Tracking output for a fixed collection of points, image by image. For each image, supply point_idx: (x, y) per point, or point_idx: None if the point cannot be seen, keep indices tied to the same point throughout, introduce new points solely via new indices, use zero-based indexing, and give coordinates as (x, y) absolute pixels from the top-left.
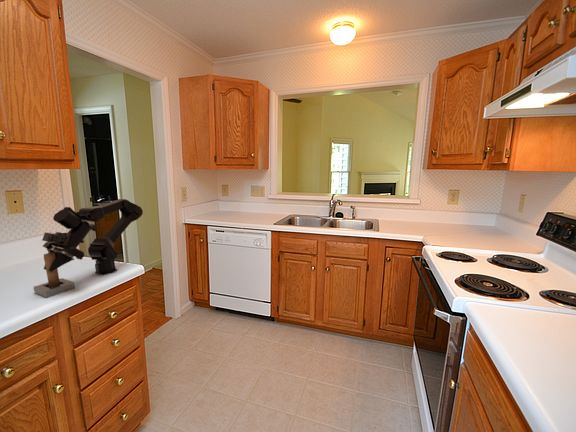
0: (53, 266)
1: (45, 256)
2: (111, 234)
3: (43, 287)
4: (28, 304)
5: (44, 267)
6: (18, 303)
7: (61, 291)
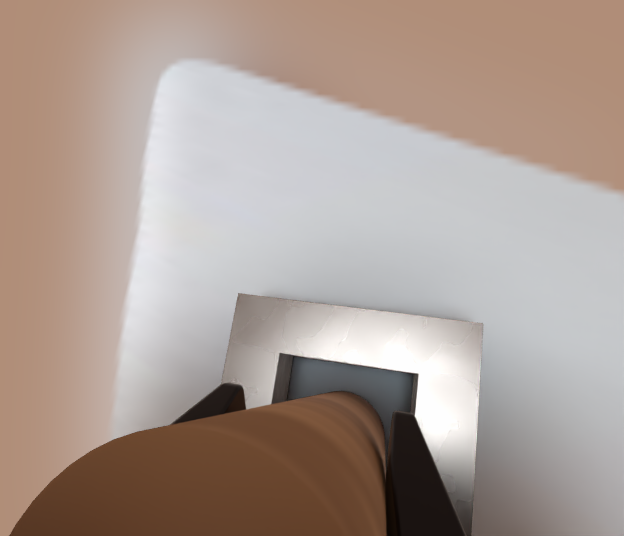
0: None
1: (153, 430)
2: None
3: (357, 345)
4: (282, 202)
5: (398, 425)
6: (372, 185)
7: None
